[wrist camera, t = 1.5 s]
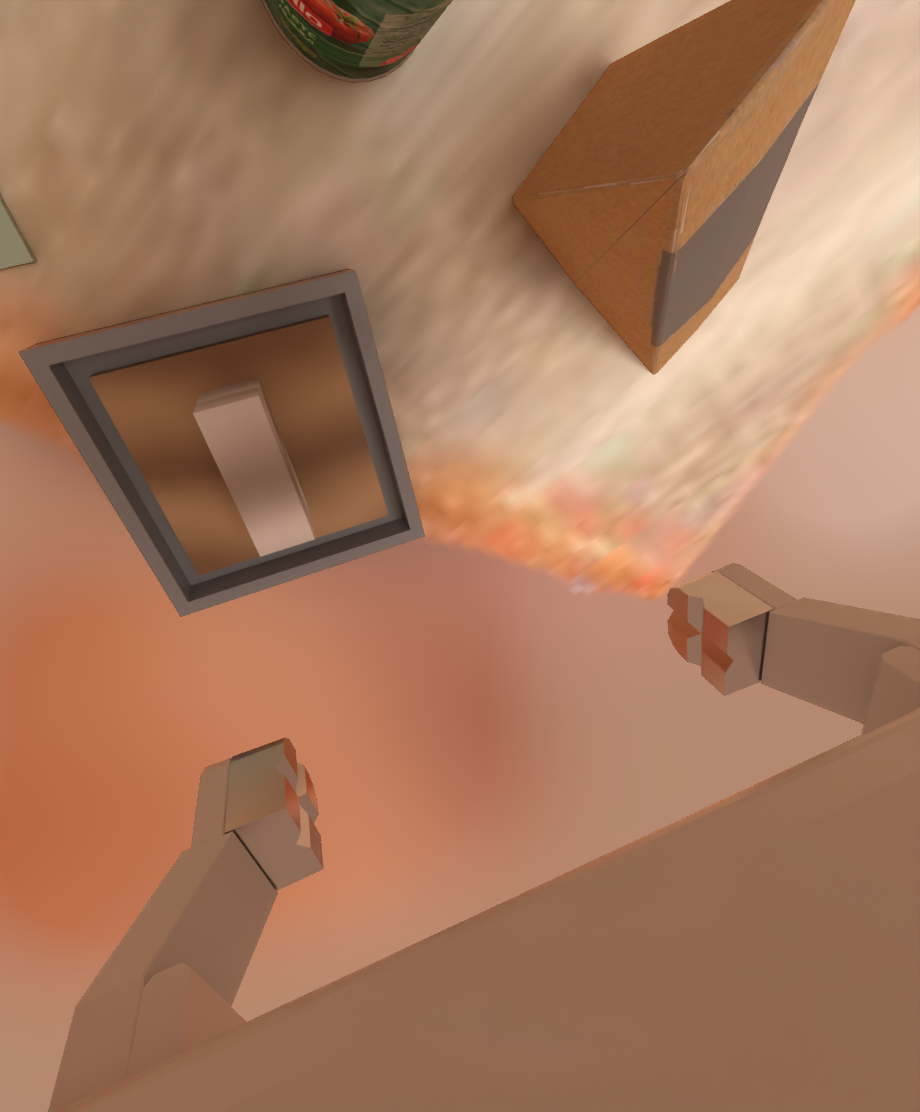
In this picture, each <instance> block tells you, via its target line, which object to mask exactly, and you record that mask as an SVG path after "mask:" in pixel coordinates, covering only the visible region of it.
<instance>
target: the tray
mask: <svg viewBox="0 0 920 1112" xmlns="http://www.w3.org/2000/svg"><path fill="white" fill-rule="evenodd" d="M327 314H328V315H329V316H330V319H331V323H332V326H333V329H334V333H335V336H336V339H337V343H338V346H339V350H340V353H341V356H342V360H343V363H344V366H345V370H346V373H347V376H348V380H349V383H350V387H351V390H352V393H353V397H354V400H355V403H356V407H357V410H358V413H359V417H360V420H361V424H362V427H363V430H364V434H365V437H366V440H367V444H368V447H369V450H370V454H371V457H372V461H373V464H374V467H375V471H376V474H377V477H378V481H379V484H380V487H381V491H382V494H383V498H384V501H385V504H386V508H387V511H388V514H389V515H388V516H385V517H381V518H378V519H375V520H372V521H369V522H366V523H363V524H360V525H356V526H353V527H350V528H347V529H344V530H341V531H338V532H334V533H331V534H328V535H325V536H322V537H319V538H316V539H314V540H311V541H308V542H305V543H302V544H299V545H296V546H292V547H289V548H286V549H283V550H280V551H277V552H274V553H271V554H267V555H264V556H261V557H260V556H259V557H256V558H253V559H250V560H247V561H244V562H240V563H237V564H234V565H231V566H228V567H225V568H222V569H219V570H215V571H212V572H209V573H206V574H203V575H200V576H199V575H198V573H197V571H196V570H195V568H194V566H193V564H192V563H191V561H190V559H189V557H188V555H187V554H186V552H185V550H184V548H183V546H182V545H181V543H180V541H179V539H178V537H177V536H176V534H175V532H174V530H173V528H172V527H171V525H170V523H169V521H168V520H167V518H166V516H165V514H164V512H163V511H162V509H161V507H160V505H159V503H158V502H157V500H156V498H155V496H154V494H153V493H152V491H151V489H150V487H149V485H148V484H147V482H146V480H145V478H144V477H143V475H142V473H141V471H140V469H139V468H138V466H137V464H136V462H135V460H134V459H133V457H132V455H131V453H130V451H129V450H128V448H127V446H126V444H125V442H124V441H123V439H122V437H121V435H120V433H119V432H118V430H117V428H116V426H115V425H114V423H113V421H112V419H111V417H110V416H109V414H108V412H107V410H106V408H105V407H104V405H103V403H102V401H101V399H100V398H99V396H98V394H97V392H96V390H95V389H94V387H93V385H92V383H91V382H90V380H89V378H88V377H90V376H91V375H92V374H93V373H97V372H101V371H105V370H109V369H113V368H117V367H121V366H125V365H129V364H133V363H137V362H141V361H145V360H149V359H153V358H157V357H161V356H165V355H169V354H173V353H176V352H180V351H184V350H188V349H192V348H196V347H200V346H204V345H208V344H212V343H216V342H220V341H224V340H228V339H232V338H236V337H240V336H244V335H248V334H252V333H256V332H260V331H264V330H268V329H272V328H276V327H280V326H284V325H288V324H292V323H296V322H299V321H303V320H307V319H311V318H315V317H319V316H323V315H327ZM19 354H20V355H21V357H22V359H23V360H24V362H25V364H26V365H27V367H28V368H29V370H30V372H31V373H32V375H33V377H34V378H35V380H36V382H37V383H38V385H39V386H40V388H41V390H42V391H43V393H44V395H45V396H46V398H47V400H48V401H49V403H50V404H51V406H52V408H53V409H54V411H55V413H56V414H57V416H58V417H59V419H60V421H61V422H62V424H63V426H64V427H65V429H66V431H67V432H68V434H69V435H70V437H71V439H72V440H73V442H74V444H75V445H76V447H77V448H78V450H79V452H80V453H81V455H82V457H83V458H84V460H85V462H86V463H87V465H88V466H89V468H90V470H91V471H92V473H93V475H94V476H95V478H96V480H97V481H98V483H99V484H100V486H101V488H102V489H103V491H104V493H105V494H106V496H107V497H108V499H109V501H110V502H111V504H112V506H113V507H114V509H115V511H116V512H117V514H118V515H119V517H120V519H121V520H122V522H123V524H124V525H125V527H126V528H127V530H128V532H129V533H130V535H131V537H132V538H133V540H134V542H135V543H136V545H137V546H138V548H139V550H140V551H141V553H142V555H143V556H144V558H145V560H146V561H147V563H148V564H149V566H150V568H151V569H152V571H153V573H154V574H155V576H156V577H157V579H158V581H159V582H160V584H161V586H162V587H163V589H164V591H165V592H166V594H167V595H168V597H169V599H170V600H171V602H172V603H173V605H174V607H175V608H176V610H177V612H178V613H179V615H180V617H182V616H185V615H188V614H191V613H194V612H197V611H200V610H203V609H206V608H209V607H212V606H215V605H218V604H221V603H224V602H227V601H230V600H233V599H236V598H239V597H242V596H245V595H248V594H251V593H254V592H257V591H261V590H264V589H267V588H270V587H273V586H276V585H278V584H282V583H285V582H288V581H291V580H294V579H297V578H300V577H303V576H306V575H309V574H312V573H315V572H318V571H321V570H324V569H327V568H330V567H333V566H336V565H340V564H343V563H345V562H349V561H352V560H355V559H358V558H361V557H364V556H366V555H369V554H373V553H376V552H379V551H382V550H385V549H388V548H391V547H394V546H397V545H400V544H403V543H406V542H409V541H412V540H415V539H418V538H421V537H425V534H424V530H423V527H422V523H421V519H420V515H419V511H418V507H417V504H416V500H415V496H414V492H413V488H412V485H411V481H410V477H409V473H408V469H407V465H406V462H405V458H404V454H403V450H402V446H401V442H400V439H399V435H398V431H397V427H396V423H395V419H394V416H393V412H392V408H391V404H390V400H389V397H388V393H387V389H386V385H385V381H384V377H383V374H382V370H381V366H380V362H379V358H378V354H377V351H376V347H375V343H374V339H373V335H372V332H371V328H370V324H369V320H368V316H367V312H366V309H365V305H364V301H363V297H362V293H361V289H360V286H359V282H358V278H357V274H356V271H354V270H351V269H346V270H342V271H338V272H334V273H329V274H325V275H321V276H317V277H313V278H309V279H304V280H300V281H296V282H292V283H288V284H284V285H279V286H275V287H271V288H267V289H263V290H258V291H254V292H250V293H246V294H242V295H238V296H233V297H229V298H225V299H221V300H217V301H213V302H208V303H204V304H200V305H196V306H192V307H188V308H183V309H179V310H175V311H171V312H167V313H163V314H158V315H154V316H150V317H146V318H142V319H137V320H133V321H129V322H125V323H121V324H117V325H112V326H108V327H104V328H100V329H96V330H92V331H87V332H83V333H79V334H75V335H71V336H67V337H62V338H58V339H54V340H50V341H46V342H42V343H37V344H35V345H33V346H31V347H29V348H27V349H24V350H22V351H20V352H19Z"/></svg>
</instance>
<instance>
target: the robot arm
mask: <svg viewBox="0 0 920 1112" xmlns="http://www.w3.org/2000/svg"><path fill="white" fill-rule="evenodd" d="M667 602H668V603H667V604H668V605H669V606H670V607H671V608H672V609H673V610H674V611H673V613H672V614H671V616H670V618H669V619H668V634H669V636H670V639H671V641H672V644H673V646H674V647H675V649H676V650H677V652H678V653H679V654H680V655H681V656H682V657H683V658H684V659H685V660H686V661H687V662H691V663H694V664H697V665H700V666H701V674H702V676H703V677H704V678H705V679H706V680H707V681H709V682H710V683H711V684H712V685H713V686H714V687H715V688H716V689H717V690H718V691H719V692H720V693H722V694H723V695H724V696H726V695H728V694H731V693H733V692H736V691H738V690H741V689H743V688H746V687H748V686H751V685H753V684H756V683H758V682H761V684H763V685H766V686H769V687H771V688H774V689H776V690H779V691H781V692H784V693H786V694H789V695H792V696H794V697H797V698H799V699H801V700H804V701H807V702H809V703H812V704H814V705H817V706H819V707H822V708H824V709H827V710H830V711H832V712H835V713H837V714H840V715H842V716H845V717H847V718H850V719H852V720H855V721H858V722H860V723H862V724H864V725H863V729H862V733H861V735H860V736H858V737H856V738H853V739H852V740H849V741H847V742H845V743H843V744H841V745H838V746H837V747H834V748H832V749H830V750H828V751H826V752H824V753H821V754H819V755H817V756H815V757H813V758H811V759H808V760H807V761H804V762H802V763H800V764H798V765H796V766H794V767H791V768H789V769H787V770H785V771H783V772H781V773H779V774H777V775H774V776H772V777H770V778H768V779H766V780H764V781H762V782H759V783H757V784H755V785H753V786H751V787H749V788H747V789H744V790H742V791H740V792H738V793H736V794H734V795H732V796H729V797H727V798H726V799H723V800H721V801H719V802H717V803H715V804H713V805H710V806H709V807H706V808H704V809H702V810H700V811H698V812H695V813H694V814H691V815H689V816H687V817H685V818H682V819H680V820H678V821H676V822H674V823H672V824H670V825H668V826H666V827H663V828H661V829H659V830H657V831H655V832H653V833H651V834H648V835H646V836H644V837H642V838H640V839H638V840H635V841H634V842H631V843H629V844H627V845H625V846H623V847H620V848H618V849H616V850H614V851H612V852H610V853H608V854H606V855H603V856H601V857H599V858H597V859H595V860H593V861H591V862H588V863H586V864H584V865H582V866H580V867H578V868H576V869H574V870H571V871H569V872H567V873H565V874H563V875H561V876H559V877H556V878H554V879H552V880H550V881H548V882H546V883H543V884H541V885H539V886H537V887H535V888H533V889H531V890H528V891H526V892H524V893H522V894H520V895H518V896H516V897H514V898H511V899H509V900H507V901H505V902H503V903H501V904H498V905H496V906H494V907H492V908H490V909H488V910H486V911H484V912H481V913H479V914H477V915H475V916H473V917H471V918H468V919H466V920H465V921H462V922H460V923H458V924H456V925H454V926H451V927H449V928H447V929H445V930H443V931H441V932H438V933H437V934H434V935H432V936H430V937H428V938H426V939H424V940H422V941H419V942H417V943H415V944H413V945H411V946H409V947H406V948H404V949H402V950H400V951H398V952H396V953H394V954H391V955H389V956H387V957H385V958H383V959H381V960H379V961H376V962H374V963H372V964H370V965H368V966H366V967H364V968H361V969H359V970H357V971H355V972H353V973H351V974H349V975H347V976H344V977H342V978H340V979H338V980H336V981H334V982H331V983H329V984H327V985H325V986H323V987H321V988H319V989H316V990H314V991H312V992H310V993H308V994H306V995H304V996H302V997H299V998H297V999H295V1000H293V1001H291V1002H289V1003H286V1004H284V1005H282V1006H280V1007H278V1008H276V1009H274V1010H272V1011H269V1012H267V1013H265V1014H263V1015H261V1016H259V1017H257V1018H254V1019H252V1020H250V1021H248V1022H246V1021H245V1020H244V1019H243V1018H242V1017H241V1016H240V1015H239V1014H238V1013H237V1012H236V1011H235V1010H234V1009H233V1008H232V1007H231V1006H232V1003H233V1001H234V998H235V996H236V993H237V991H238V989H239V986H240V984H241V981H242V979H243V977H244V974H245V972H246V969H247V967H248V965H249V962H250V960H251V957H252V955H253V952H254V950H255V948H256V945H257V943H258V940H259V938H260V935H261V933H262V930H263V928H264V926H265V923H266V921H267V919H268V916H269V914H270V911H271V909H272V906H273V904H274V902H275V899H276V897H277V894H278V893H277V890H279V889H281V888H284V887H286V886H288V885H290V884H292V883H294V882H297V881H299V880H301V879H303V878H305V877H307V876H309V875H312V874H314V873H316V872H318V871H320V870H322V869H324V868H323V856H322V845H321V835H320V834H319V832H318V830H317V828H316V827H315V825H314V822H315V820H316V818H317V816H318V805H317V798H316V795H315V790H314V786H313V783H312V781H311V778H310V776H309V773H308V772H307V770H306V768H305V766H304V765H301V764H299V763H297V760H296V750H295V748H294V746H293V745H292V743H291V741H290V740H289V739H288V738H283V739H280V740H278V741H275V742H272V743H269V744H266V745H264V746H261V747H258V748H255V749H253V750H250V751H247V752H244V753H241V754H239V755H236V756H233V757H232V758H230V759H227V760H224V761H221V762H219V763H216V764H213V765H210V766H207V767H205V768H204V770H203V772H202V774H201V776H200V783H199V791H198V798H197V806H196V814H195V822H194V828H193V836H192V843H191V848H190V849H188V850H186V851H183V852H182V853H181V854H180V856H179V857H178V859H177V860H176V862H175V863H174V865H173V866H172V867H171V869H170V870H169V872H168V873H167V875H166V876H165V878H164V879H163V880H162V882H161V883H160V885H159V886H158V888H157V889H156V891H155V892H154V894H153V895H152V896H151V898H150V899H149V901H148V902H147V904H146V905H145V907H144V908H143V910H142V911H141V912H140V914H139V915H138V917H137V918H136V920H135V921H134V922H133V924H132V925H131V927H130V928H129V930H128V931H127V933H126V934H125V936H124V937H123V938H122V940H121V941H120V943H119V944H118V946H117V947H116V949H115V950H114V951H113V953H112V954H111V956H110V957H109V959H108V960H107V962H106V963H105V964H104V966H103V967H102V969H101V970H100V972H99V973H98V975H97V976H96V977H95V979H94V981H93V982H92V983H91V985H90V986H89V988H88V989H87V990H86V992H85V994H84V995H83V996H82V998H81V999H80V1001H79V1002H78V1004H77V1005H76V1007H75V1010H74V1015H73V1018H72V1022H71V1026H70V1030H69V1034H68V1037H67V1041H66V1045H65V1049H64V1052H63V1056H62V1060H61V1064H60V1068H59V1072H58V1075H57V1080H56V1083H55V1087H54V1091H53V1094H52V1098H51V1102H50V1106H49V1110H48V1112H920V619H916V618H910V617H905V616H900V615H894V614H889V613H884V612H878V611H873V610H868V609H862V608H857V607H852V606H846V605H841V604H835V603H830V602H825V601H819V600H814V599H809V598H802V599H799V600H797V599H795V598H793V597H792V596H790V595H788V594H787V593H785V592H784V591H782V590H780V589H779V588H777V587H776V586H774V585H772V584H771V583H769V582H767V581H766V580H764V579H763V578H761V577H759V576H758V575H756V574H755V573H753V572H751V571H750V570H748V569H746V568H745V567H743V566H742V565H739V564H734V563H732V564H729V565H727V566H724V567H722V568H720V569H717V570H715V571H712V572H711V573H708V574H705V575H703V576H700V577H698V578H695V579H693V580H690V581H688V582H685V583H683V584H680V585H678V586H675V587H673V588H670V590H669V593H668V601H667Z"/></svg>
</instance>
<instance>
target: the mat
mask: <svg viewBox="0 0 920 1112" xmlns="http://www.w3.org/2000/svg"><path fill="white" fill-rule="evenodd" d="M32 262H36V259H35V258H34V256H33V254H32V252H31V250H30V248H29V247H28V245H27V243H26V241H25V239H24V237H23V236H22V234H21V232H20V230H19V228H18V226H17V225H16V223H15V221H14V219H13V217H12V215H11V214H10V212H9V210H8V208H7V206H6V204H5V203H4V201H3V199H2V197H1V195H0V269H4V268H9V267H13V266H18V265H22V264H27V263H32Z"/></svg>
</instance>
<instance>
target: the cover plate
mask: <svg viewBox="0 0 920 1112" xmlns="http://www.w3.org/2000/svg"><path fill="white" fill-rule="evenodd" d="M88 378H89V380H90V382H91V383H92V385H93V387H94V389H95V390H96V392H97V394H98V396H99V398H100V399H101V401H102V403H103V405H104V407H105V408H106V410H107V412H108V414H109V416H110V417H111V419H112V421H113V423H114V425H115V426H116V428H117V430H118V432H119V433H120V435H121V437H122V439H123V441H124V442H125V444H126V446H127V448H128V450H129V451H130V453H131V455H132V457H133V459H134V460H135V462H136V464H137V466H138V468H139V469H140V471H141V473H142V475H143V477H144V478H145V480H146V482H147V484H148V485H149V487H150V489H151V491H152V493H153V494H154V496H155V498H156V500H157V502H158V503H159V505H160V507H161V509H162V511H163V512H164V514H165V516H166V518H167V520H168V521H169V523H170V525H171V527H172V528H173V530H174V532H175V534H176V536H177V537H178V539H179V541H180V543H181V545H182V546H183V548H184V550H185V552H186V554H187V555H188V557H189V559H190V561H191V563H192V564H193V566H194V568H195V570H196V571H197V573H198V575H199V576H200V575H203V574H206V573H209V572H212V571H215V570H219V569H222V568H225V567H228V566H231V565H234V564H237V563H240V562H244V561H247V560H250V559H253V558H256V557H259V556H260V557H261V556H264V555H267V554H271V553H274V552H277V551H280V550H283V549H286V548H289V547H292V546H296V545H299V544H302V543H305V542H308V541H311V540H314V539H316V538H319V537H322V536H325V535H328V534H331V533H334V532H338V531H341V530H344V529H347V528H350V527H353V526H356V525H360V524H363V523H366V522H369V521H372V520H375V519H378V518H381V517H385V516H388V515H389V514H388V511H387V508H386V504H385V501H384V498H383V494H382V491H381V487H380V484H379V481H378V477H377V474H376V471H375V467H374V464H373V461H372V457H371V454H370V450H369V447H368V444H367V440H366V437H365V434H364V430H363V427H362V424H361V420H360V417H359V413H358V410H357V407H356V403H355V400H354V397H353V393H352V390H351V387H350V383H349V380H348V376H347V373H346V370H345V366H344V363H343V360H342V356H341V353H340V350H339V346H338V343H337V339H336V336H335V333H334V329H333V326H332V323H331V319H330V316H329V315H328V314H327V315H323V316H319V317H315V318H311V319H307V320H303V321H299V322H296V323H292V324H288V325H284V326H280V327H276V328H272V329H268V330H264V331H260V332H256V333H252V334H248V335H244V336H240V337H236V338H232V339H228V340H224V341H220V342H216V343H212V344H208V345H204V346H200V347H196V348H192V349H188V350H184V351H180V352H176V353H173V354H169V355H165V356H161V357H157V358H153V359H149V360H145V361H141V362H137V363H133V364H129V365H125V366H121V367H117V368H113V369H109V370H105V371H101V372H97V373H93V374H92V375H91V376H90V377H88Z"/></svg>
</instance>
